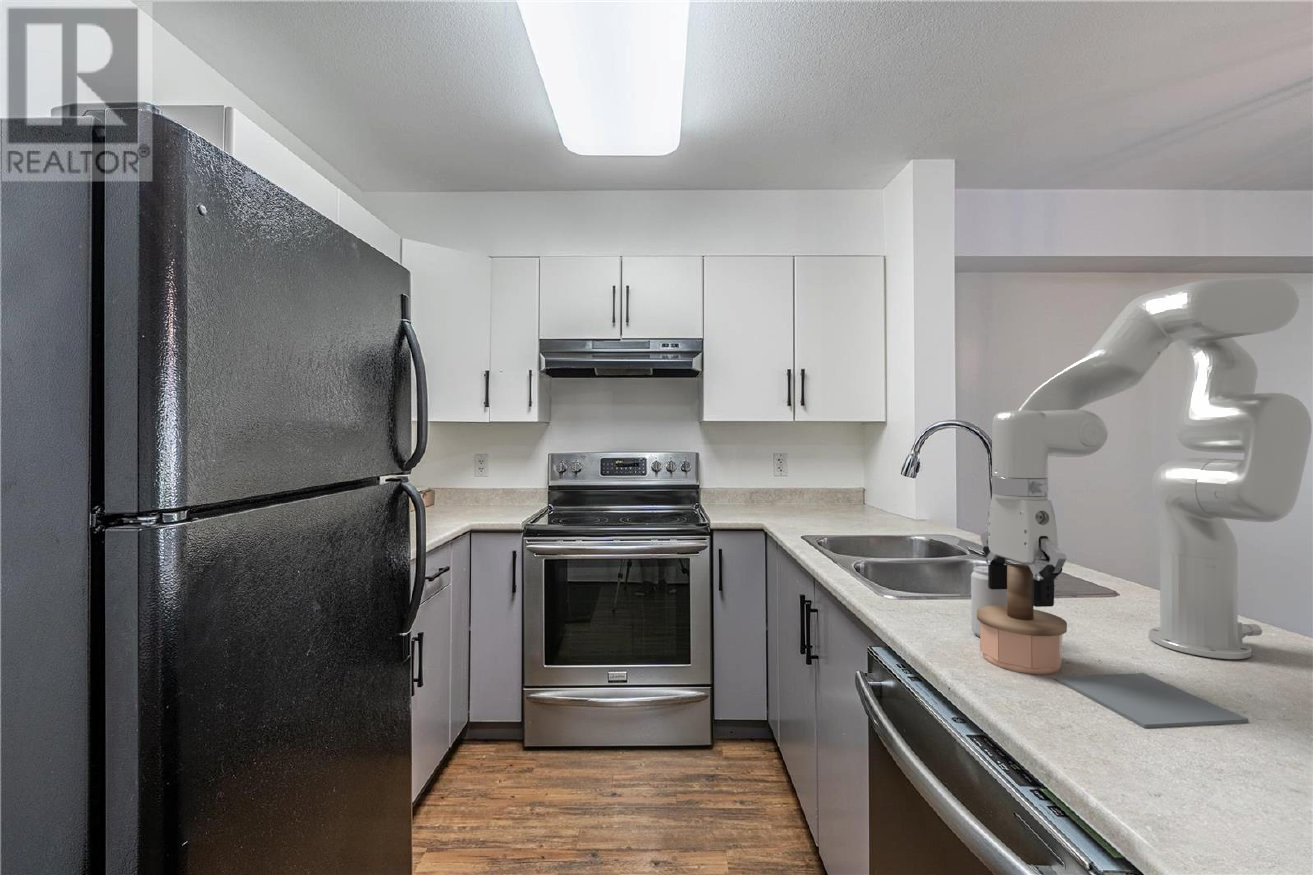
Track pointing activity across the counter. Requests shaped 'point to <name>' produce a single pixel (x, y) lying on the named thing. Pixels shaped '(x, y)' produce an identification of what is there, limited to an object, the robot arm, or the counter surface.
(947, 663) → the counter surface
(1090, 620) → the counter surface
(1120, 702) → the mat
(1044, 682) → the counter surface
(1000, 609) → the lid
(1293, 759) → the counter surface
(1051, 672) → the bowl
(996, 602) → the beverage can
